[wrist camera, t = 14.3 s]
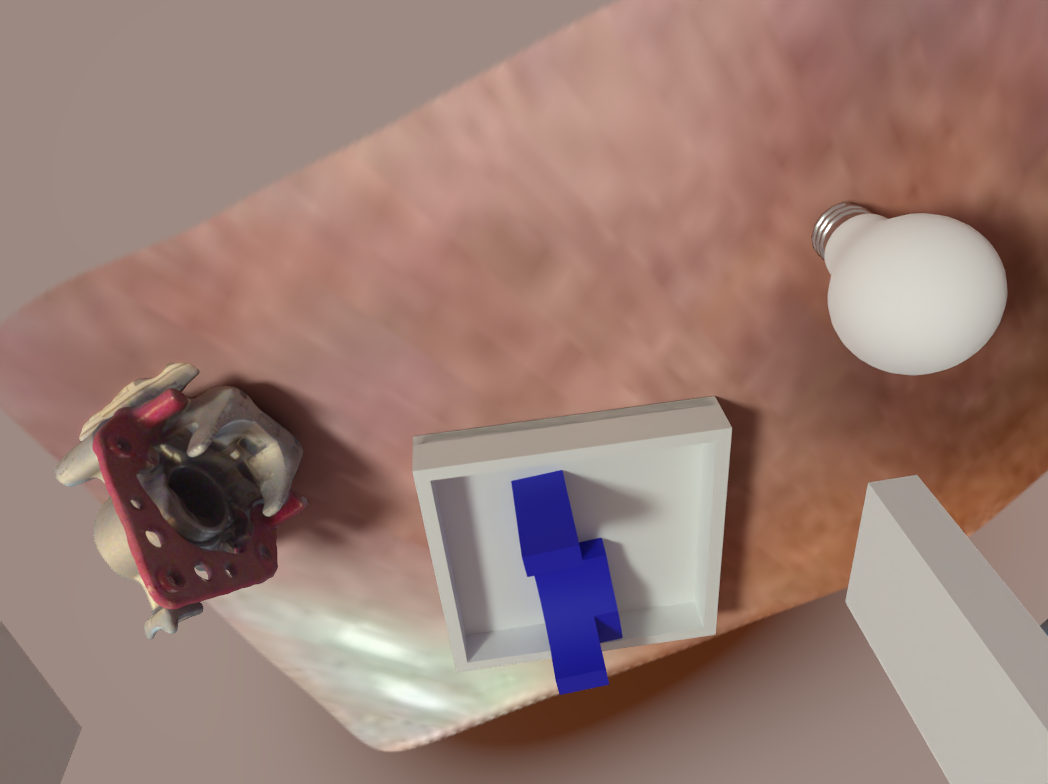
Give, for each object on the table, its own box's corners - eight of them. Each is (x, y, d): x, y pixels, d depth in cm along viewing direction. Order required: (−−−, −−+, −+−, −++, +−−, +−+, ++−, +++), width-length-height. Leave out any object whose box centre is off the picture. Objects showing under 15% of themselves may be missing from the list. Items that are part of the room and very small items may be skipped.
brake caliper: (380, 475, 41) (244, 689, 35) (276, 474, 49) (149, 650, 43) (218, 325, 36) (22, 550, 30) (129, 350, 43) (-42, 533, 37)
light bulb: (804, 143, 36) (931, 236, 27) (925, 175, 38) (1083, 273, 29) (746, 271, 40) (841, 392, 31) (858, 296, 41) (981, 417, 32)
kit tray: (714, 395, 44) (731, 427, 41) (702, 598, 53) (715, 634, 51) (413, 436, 43) (412, 471, 41) (455, 634, 53) (456, 672, 50)
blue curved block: (613, 600, 51) (633, 679, 46) (546, 615, 52) (559, 694, 47) (587, 464, 45) (608, 539, 40) (511, 480, 45) (521, 557, 40)
